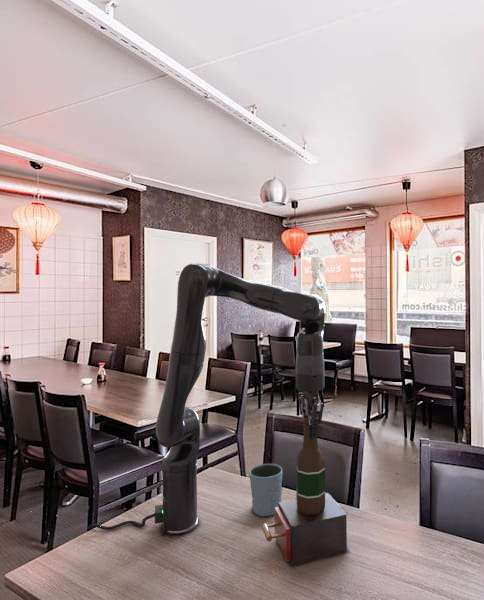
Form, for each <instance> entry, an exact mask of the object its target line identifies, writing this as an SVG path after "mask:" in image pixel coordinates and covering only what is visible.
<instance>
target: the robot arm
mask: <svg viewBox="0 0 484 600" xmlns="http://www.w3.org/2000/svg"><path fill="white" fill-rule="evenodd" d="M208 297H222V298H228V299H233V300H236V301H239V302H242V303H244V304H246V305H248V306H250V307H253V308H255V309H258V310H263V311H265V312H270V313H274V314H280V315H283V316H285V317H288V318H290V319H293V320H296V321H299V331H298V333H297V334H296V344H295V345H296V346H295V347H296V350H295V351H296V356H295V389H296V390H297V391H299V392H298V393H297V396H298V405H299V406H298V407H299V414H300V416H301V418H302V420H304V418H305V417H307V416H308V423H309V439H317V440H318V436H319V435H318V432H319V431H318V426H319V425H321V424H322V420H323V414H324V403H323V402H321V399H320V398H321V397H320V396H319V392H320V391H322V390H324V389H325V358H324V357H325V356H324V328H325V320H326V305H325V302H324V300H323V299H322V297H320V296H319V295H317V294H306V293H301V292H297V291H292V290H289V289H287V288H285V287H283V286H279V285H275V284H274V285H273V284H270V283H265V282H261V281H256V280H251V279H247V278H242V277H239V276H237V275H234V274H230V273H229V272H226V271H224V270H221V269H219V268H217V267H215V266H213V265H211V264H208V263H189V264H187V265H184V266H183V268H182V269H181V271H180V273H179V276H178V280H177V293H176V312H175V313H176V314H175V321H174V325H173V326H174V328H173V333H172V334H173V335H172V341H171V345H170V352H169V358H168V366H167V367H168V368H167V373H166V379H165V385H164V391H163V395H162V400H161V402H160V405H159V411H158V414H157V417H156V422H155V436H156V440H157V442H158V443H159V445H161V447H164V448H169V450H168V451H167V452H166V453H165V455H164V456H163V458H162V460H161V461H162V463H161V466H162V504H157V505H155V506H154V513H152V514H149V515H146V516H145V517H144V518H143V519H142V520H141V523H140V522H138V521H136V520H126V521H122V522H120V523H118V524H114V525H111V526H105V525H102V524H99V523H92V524H90V525H88V526H87V528H86V530H87V531H88V530H91V529H92V528H98V529H100V530H104V531H112V530H114V529H117V528H120V527H123V526H125V525H134V526H136V527H139V528H143V527H144V526H145V525H146V521H147V520H149V519H152V518H154V524H155V525H157V524H162V535H182V534H185V533H188V532H191V531H192V530H194V529H195V528H196V527H197V526H198V523H199V520H198V519H199V518H198V469H197V465H198V464H197V463H198V462H197V459H198V456H199V454H200V445H201V444H200V443H201V441H200V440H201V422H200V418H199V415H198V414H197V412H196V410H194V409H193V408H191V407H189V406H186V403H187V400H188V398H189V396H190V393H191V391H192V390H193V388H194V386H195V385H196V383H197V381H198V379H199V377H200V376H201V373H202V371H203V368H204V363H205V357H206V350H207V340H206V334H205V330H204V326H203V310H204V306H205V300H206V298H208ZM302 426H303V427H302V428H303V429H302V430H303V432H302V433H304V422H303V421H302ZM101 525H102V526H101ZM100 526H101V527H100Z"/></svg>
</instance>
